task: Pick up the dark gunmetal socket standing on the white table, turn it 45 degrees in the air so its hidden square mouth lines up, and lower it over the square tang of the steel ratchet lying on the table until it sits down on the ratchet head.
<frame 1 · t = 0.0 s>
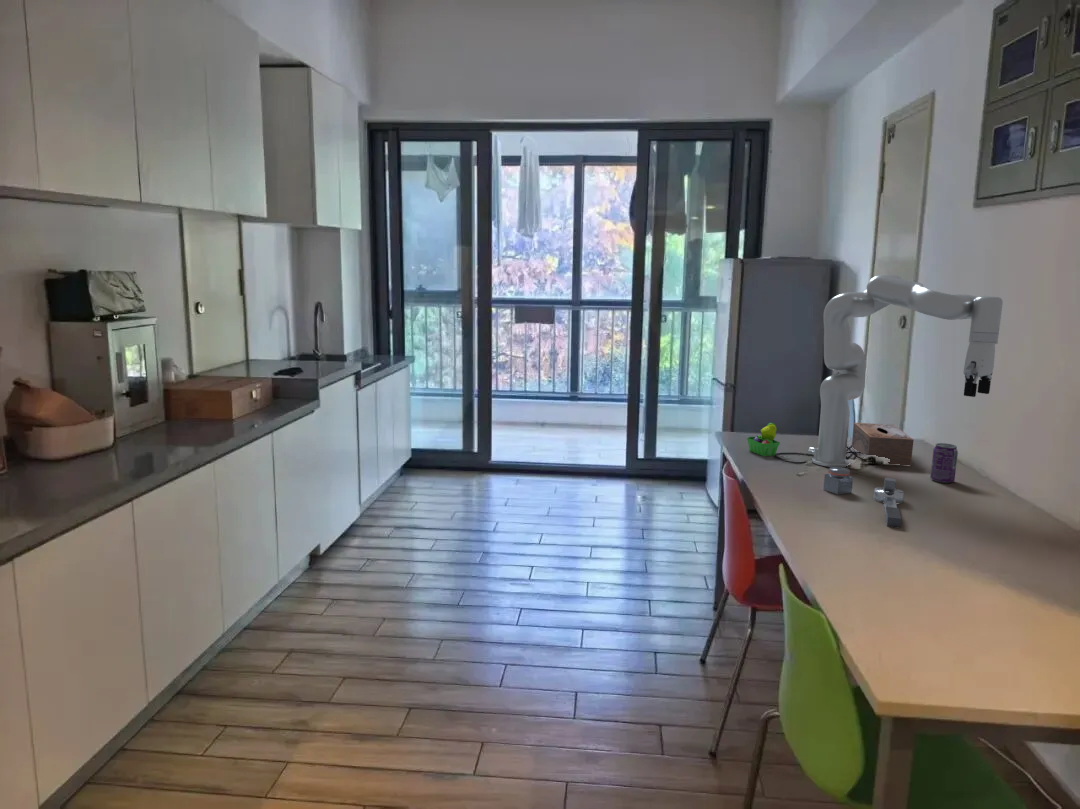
hand: (976, 394, 233), 31 cm above the table, tool pointing down, fingers open, 9 cm apart
beverage can: (942, 481, 253), on the table
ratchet: (887, 500, 231), on the table
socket: (837, 491, 239), on the table
tissue box cover: (879, 457, 285), on the table
fruit basket: (763, 453, 286), on the table
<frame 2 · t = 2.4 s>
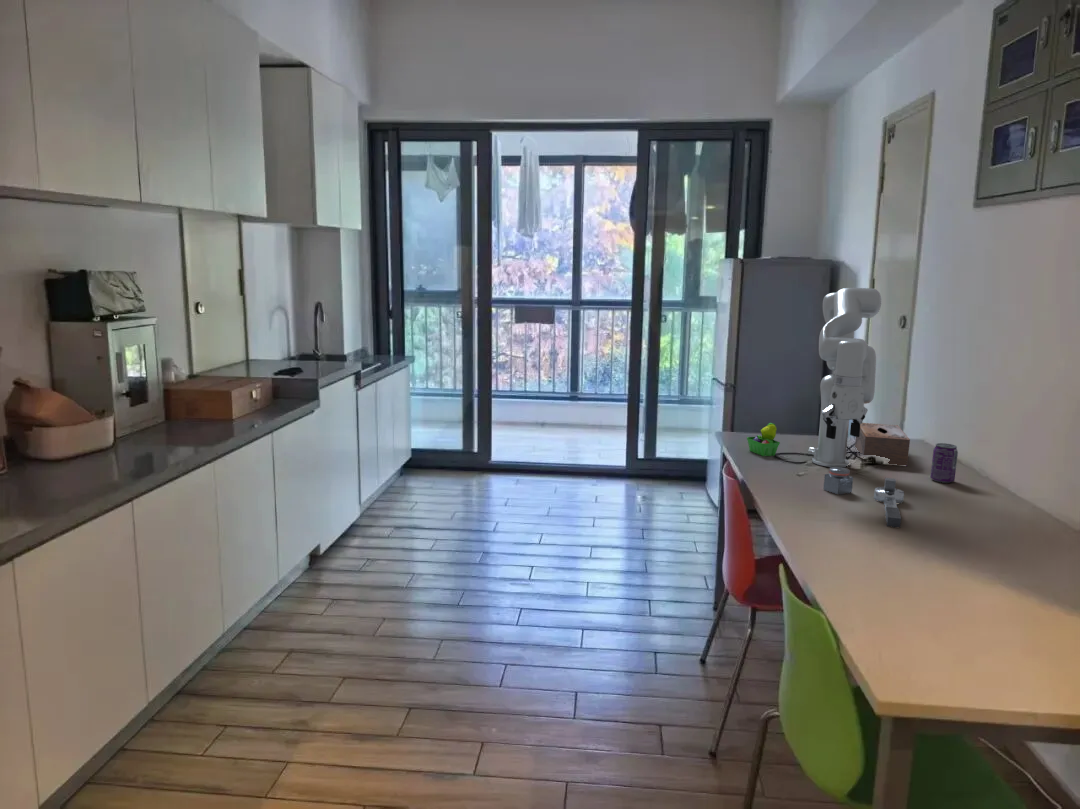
hand: (842, 437, 235), 17 cm above the table, tool pointing down, fingers open, 9 cm apart
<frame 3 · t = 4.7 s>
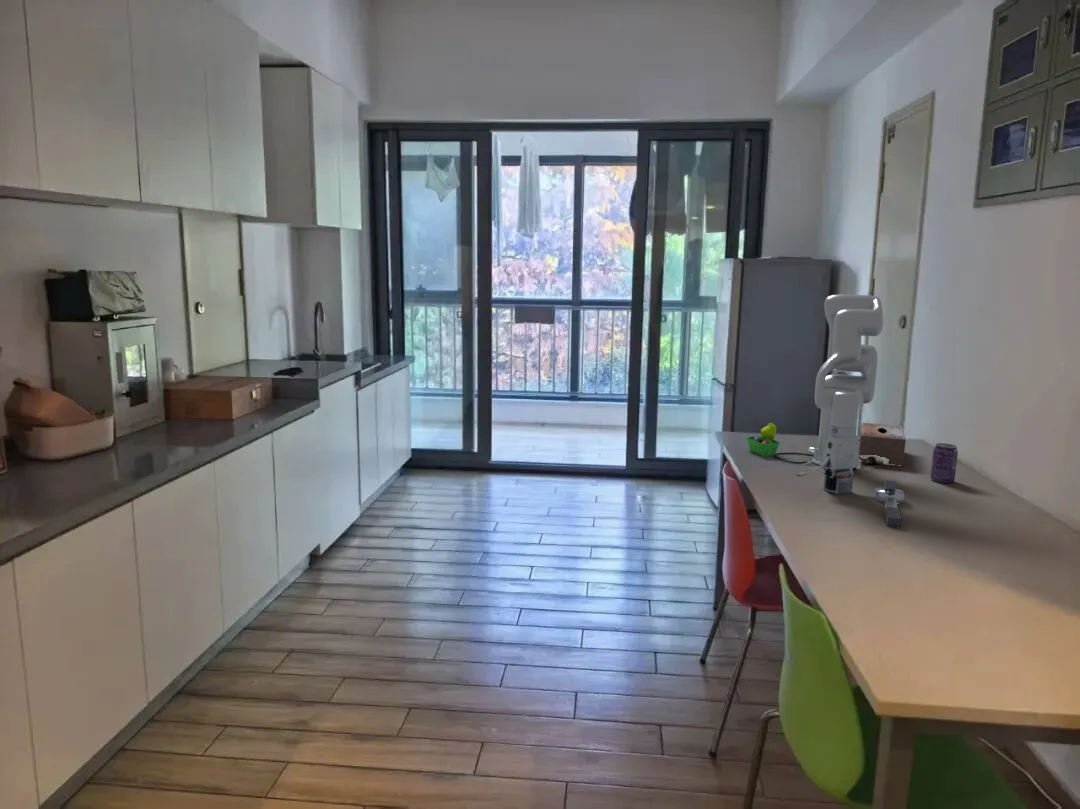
hand: (837, 487, 239), 1 cm above the table, tool pointing down, fingers closed on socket, 5 cm apart
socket: (837, 491, 239), on the table, touching gripper
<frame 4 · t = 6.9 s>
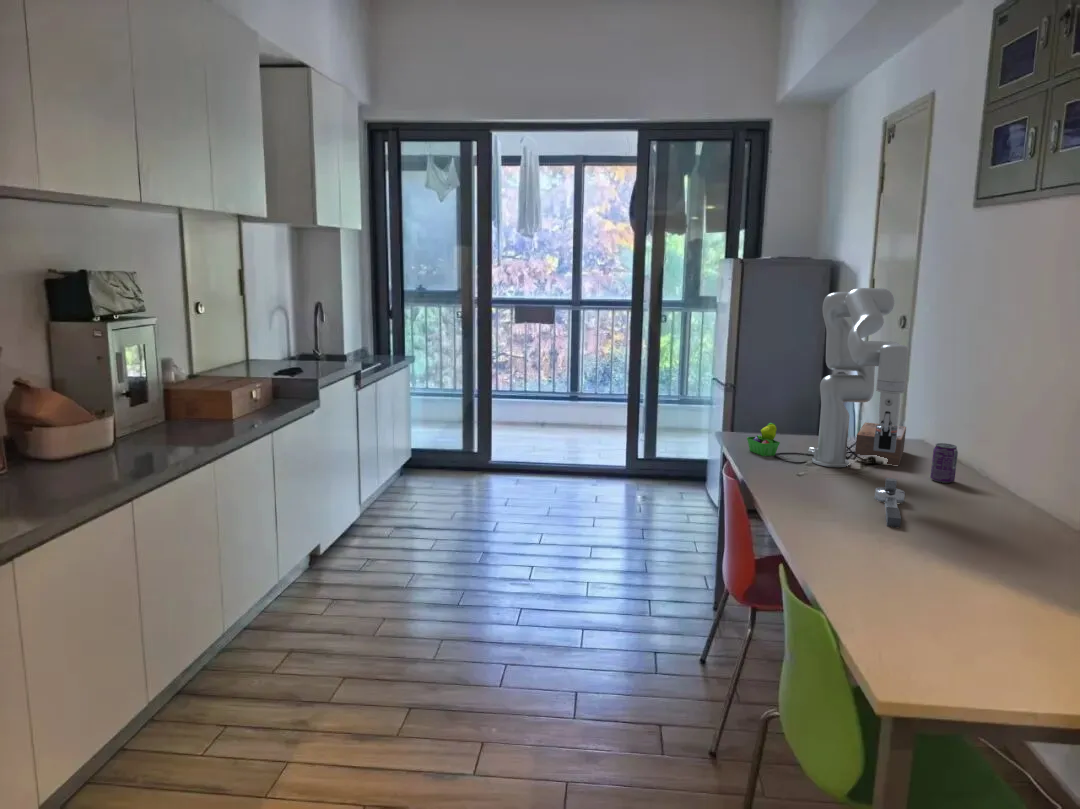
hand: (884, 446, 229), 16 cm above the table, tool pointing down, fingers closed on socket, 5 cm apart
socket: (884, 449, 229), point 15 cm above the table, touching gripper
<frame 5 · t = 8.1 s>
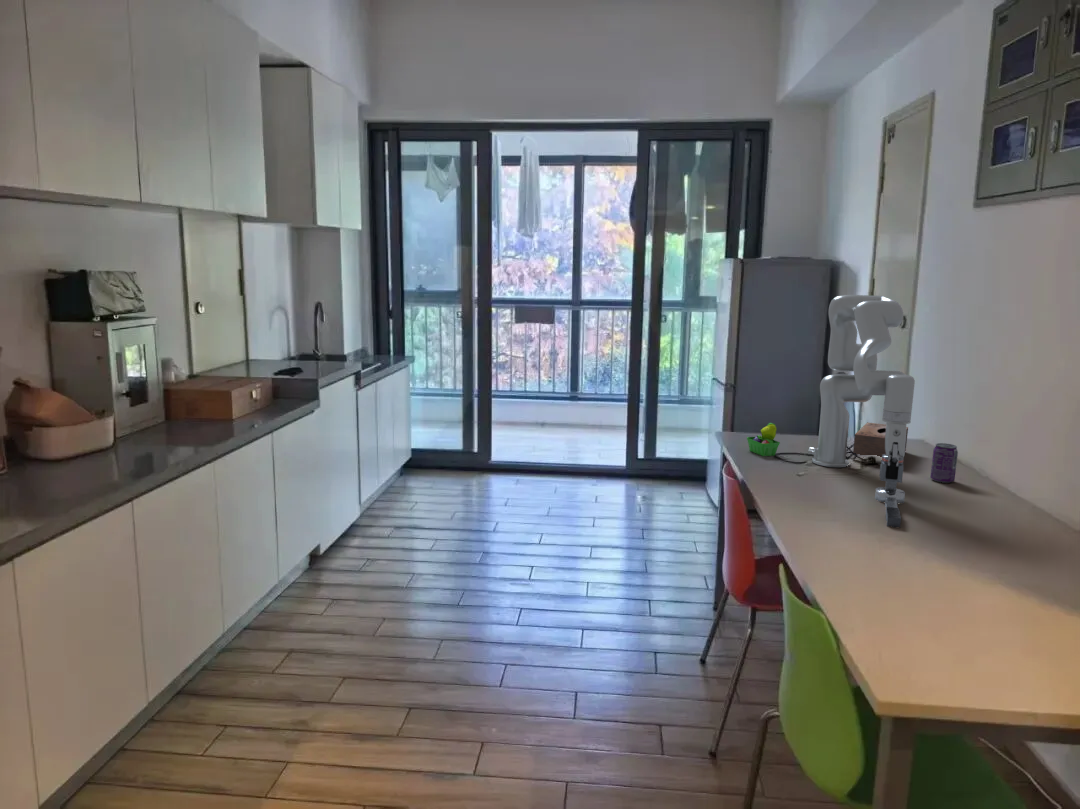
hand: (890, 475, 229), 8 cm above the table, tool pointing down, fingers closed on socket, 5 cm apart
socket: (890, 479, 229), point 7 cm above the table, touching gripper
when the fingers open (5 cm above the table, at t = 9.0 s): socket stays where it is, resting on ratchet.
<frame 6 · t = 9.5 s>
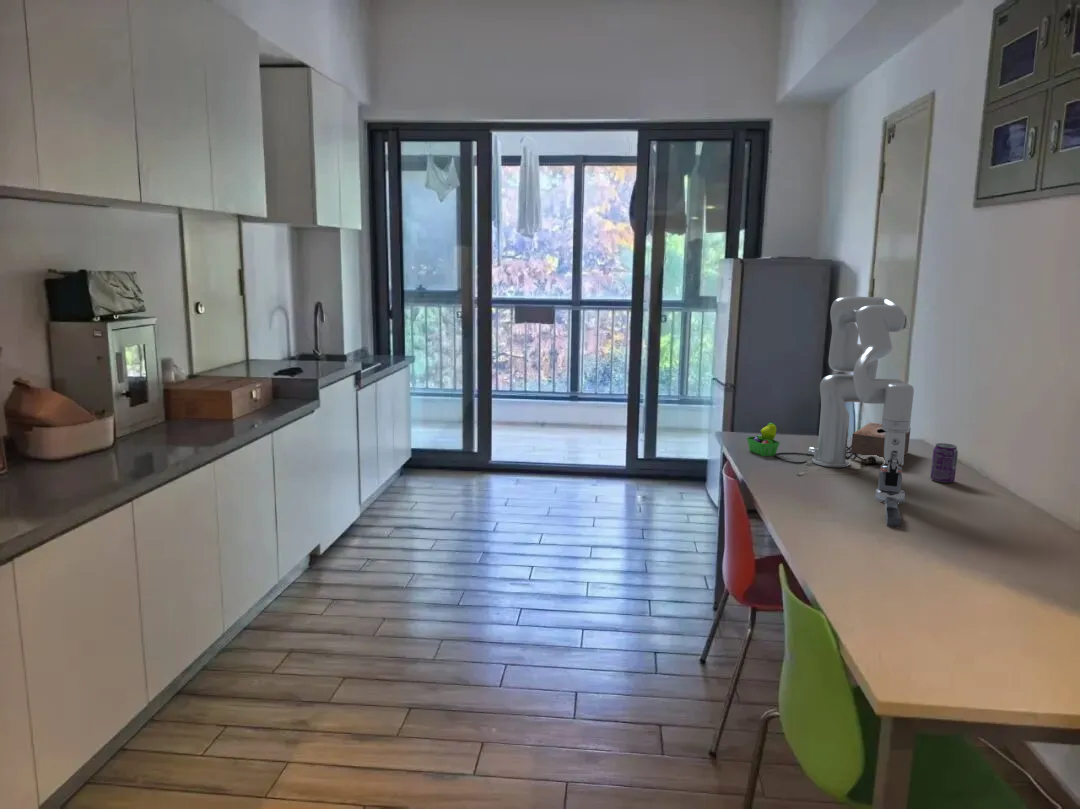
hand: (889, 481, 230), 6 cm above the table, tool pointing down, fingers open, 9 cm apart
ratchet: (889, 500, 231), on the table, touching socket
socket: (889, 489, 230), point 3 cm above the table, tilted 6°, touching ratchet
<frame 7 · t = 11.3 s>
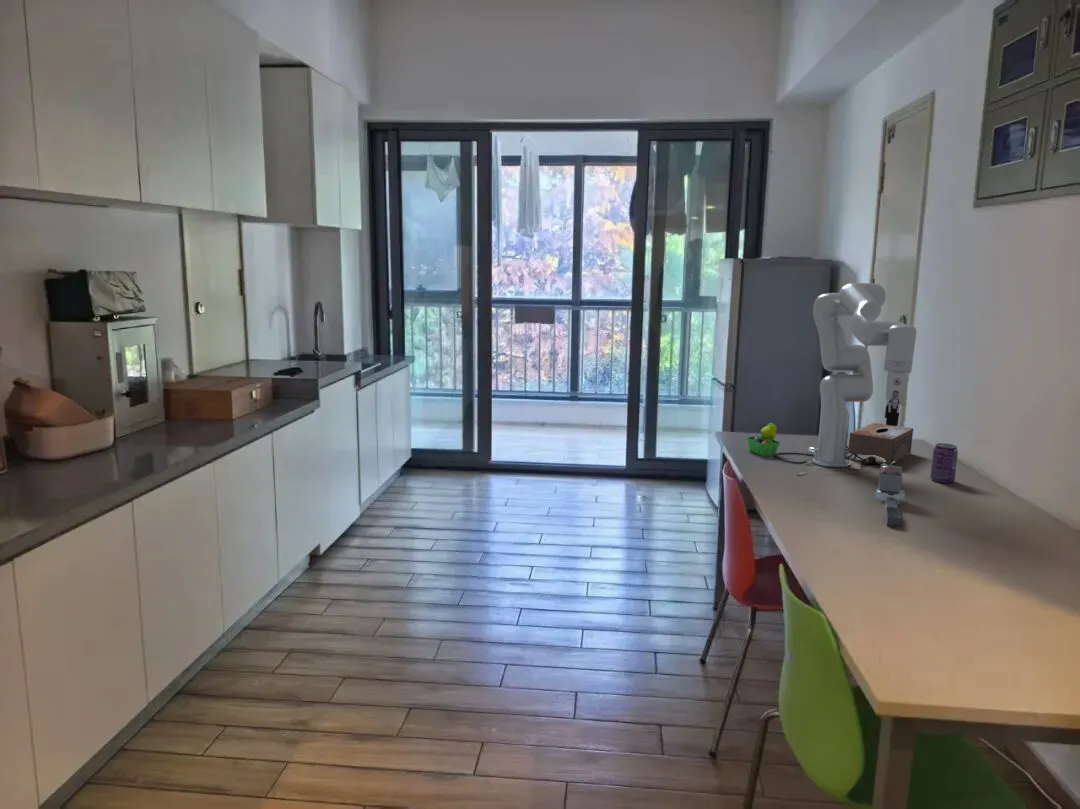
hand: (890, 421, 234), 22 cm above the table, tool pointing down, fingers open, 9 cm apart
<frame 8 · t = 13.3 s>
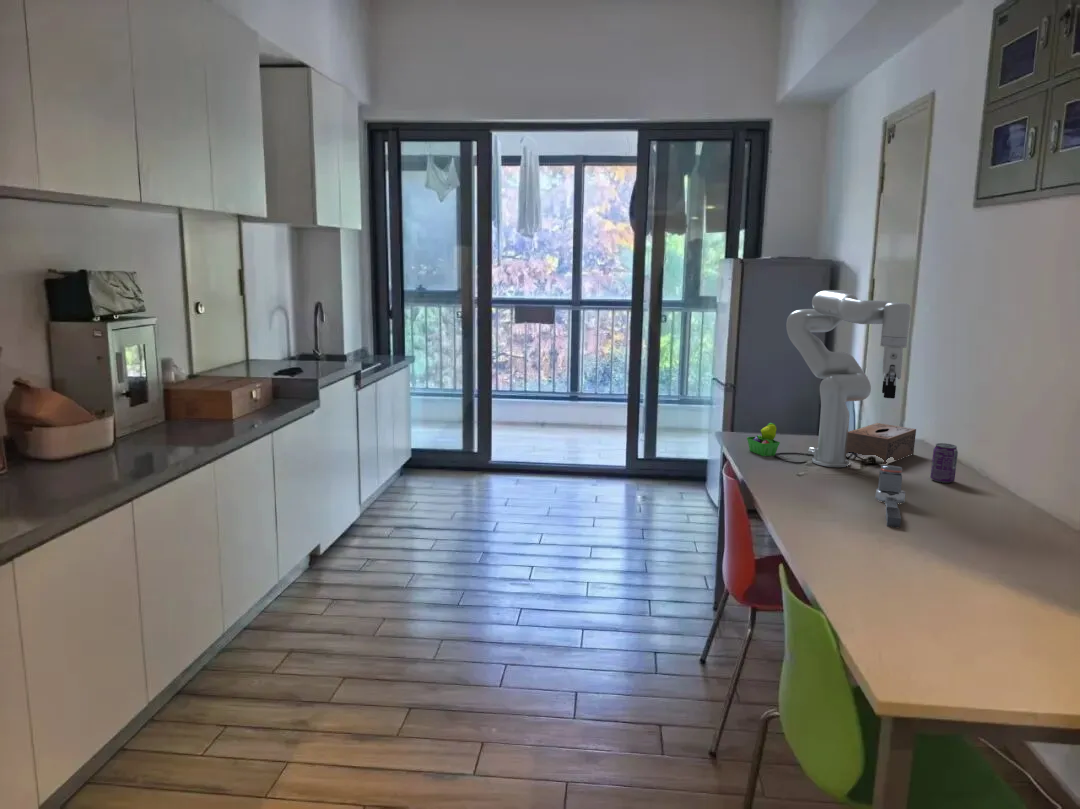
hand: (888, 395, 246), 28 cm above the table, tool pointing down, fingers open, 9 cm apart
at the end: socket 0.4 cm off-centre on the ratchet, point 3.3 cm above the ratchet's base; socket tilted 6°; the gripper is holding nothing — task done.
